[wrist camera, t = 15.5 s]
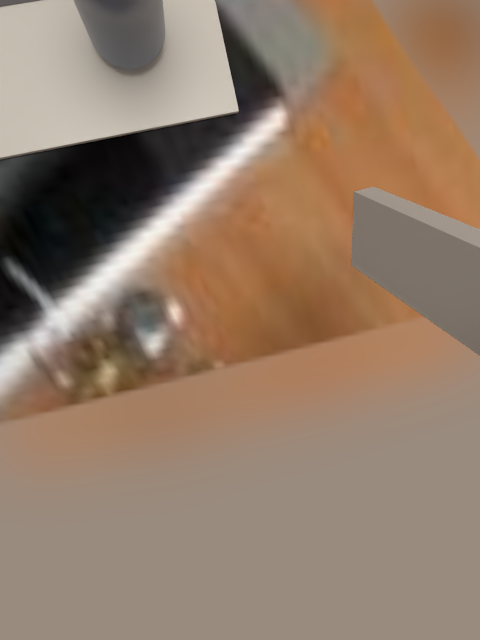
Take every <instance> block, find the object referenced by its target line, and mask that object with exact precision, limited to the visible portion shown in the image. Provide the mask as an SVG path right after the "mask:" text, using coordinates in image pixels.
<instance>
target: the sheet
mask: <svg viewBox="0 0 480 640" xmlns="http://www.w3.org/2000/svg"><path fill="white" fill-rule="evenodd" d="M163 9H164V21H165V40H164V44H163V47H162V49H161V51H160V53H159V54H158V56H157V57H156V58H155V59H154V60H153V61H152V62H150V63H149V64H147V65H145V66H143V67H140V68H135V69H125V68H120V67H117V66H115V65H112V64H111V63H109V62H108V61H106V60H105V59H104V58H103V57H102V56H101V55H100V54H99V53H98V52H97V51H96V49H95V48H94V46H93V44H92V42H91V40H90V38H89V35H88V33H87V31H86V28H85V26H84V24H83V21H82V19H81V17H80V14H79V12H78V10H77V7H76V5H75V3H74V1H73V0H0V160H1V159H6V158H11V157H16V156H21V155H26V154H31V153H36V152H42V151H47V150H52V149H57V148H62V147H67V146H72V145H77V144H82V143H87V142H92V141H98V140H103V139H108V138H113V137H118V136H123V135H128V134H133V133H138V132H143V131H148V130H154V129H159V128H164V127H169V126H174V125H179V124H184V123H189V122H194V121H199V120H204V119H210V118H215V117H220V116H225V115H230V114H235V113H238V112H239V110H238V105H237V101H236V96H235V91H234V87H233V82H232V78H231V73H230V68H229V64H228V59H227V54H226V50H225V45H224V40H223V36H222V31H221V27H220V22H219V17H218V13H217V8H216V3H215V0H163Z"/></svg>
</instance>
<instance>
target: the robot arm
mask: <svg viewBox="0 0 480 640" xmlns="http://www.w3.org/2000/svg"><path fill="white" fill-rule="evenodd" d="M351 265H352V266H353V267H354V268H356V269H357V270H359V271H360V272H361V273H363V274H364V275H366V276H367V277H369V278H370V279H371V280H373V281H374V282H376V283H377V284H379V285H380V286H381V287H383V288H384V289H386V290H387V291H389V292H390V293H391V294H393V295H394V296H396V297H397V298H398V299H400V300H401V301H403V302H404V303H406V304H407V305H408V306H410V307H411V308H413V309H414V310H416V311H417V312H418V313H420V314H421V315H423V316H424V317H426V318H427V319H428V320H430V321H431V322H433V323H434V324H435V325H437V326H438V327H440V328H441V329H443V330H444V331H446V332H447V333H448V334H450V335H451V336H453V337H454V338H455V339H457V340H458V341H460V342H461V343H463V344H464V345H465V346H467V347H468V348H470V349H471V350H472V351H474V352H475V353H477V354H479V355H480V229H477V228H475V227H472V226H470V225H467V224H465V223H462V222H460V221H457V220H455V219H452V218H450V217H447V216H445V215H442V214H440V213H438V212H435V211H433V210H430V209H428V208H425V207H423V206H420V205H418V204H415V203H413V202H410V201H408V200H405V199H403V198H400V197H398V196H395V195H393V194H390V193H388V192H385V191H383V190H380V189H378V188H375V187H371V188H367V189H363V190H359V191H355V192H354V206H353V233H352V260H351Z"/></svg>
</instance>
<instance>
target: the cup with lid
mask: <svg viewBox="0 0 480 640" xmlns="http://www.w3.org/2000/svg"><path fill="white" fill-rule="evenodd" d="M73 1H74V3H75V5H76V7H77V10H78V12H79V14H80V17H81V19H82V21H83V24H84V26H85V28H86V31H87V33H88V35H89V38H90V40H91V42H92V44H93V46H94V48H95V49H96V51H97V52H98V53H99V54H100V55H101V56H102V57H103V58H104V59H105V60H106V61H108V62H109V63H111V64H112V65H115V66H117V67H120V68H125V69H135V68H140V67H143V66H145V65H147V64H149V63H150V62H152V61H153V60H154V59H155V58H156V57H157V56H158V54H159V53H160V51H161V49H162V47H163V44H164V40H165V21H164V9H163V0H73Z"/></svg>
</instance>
